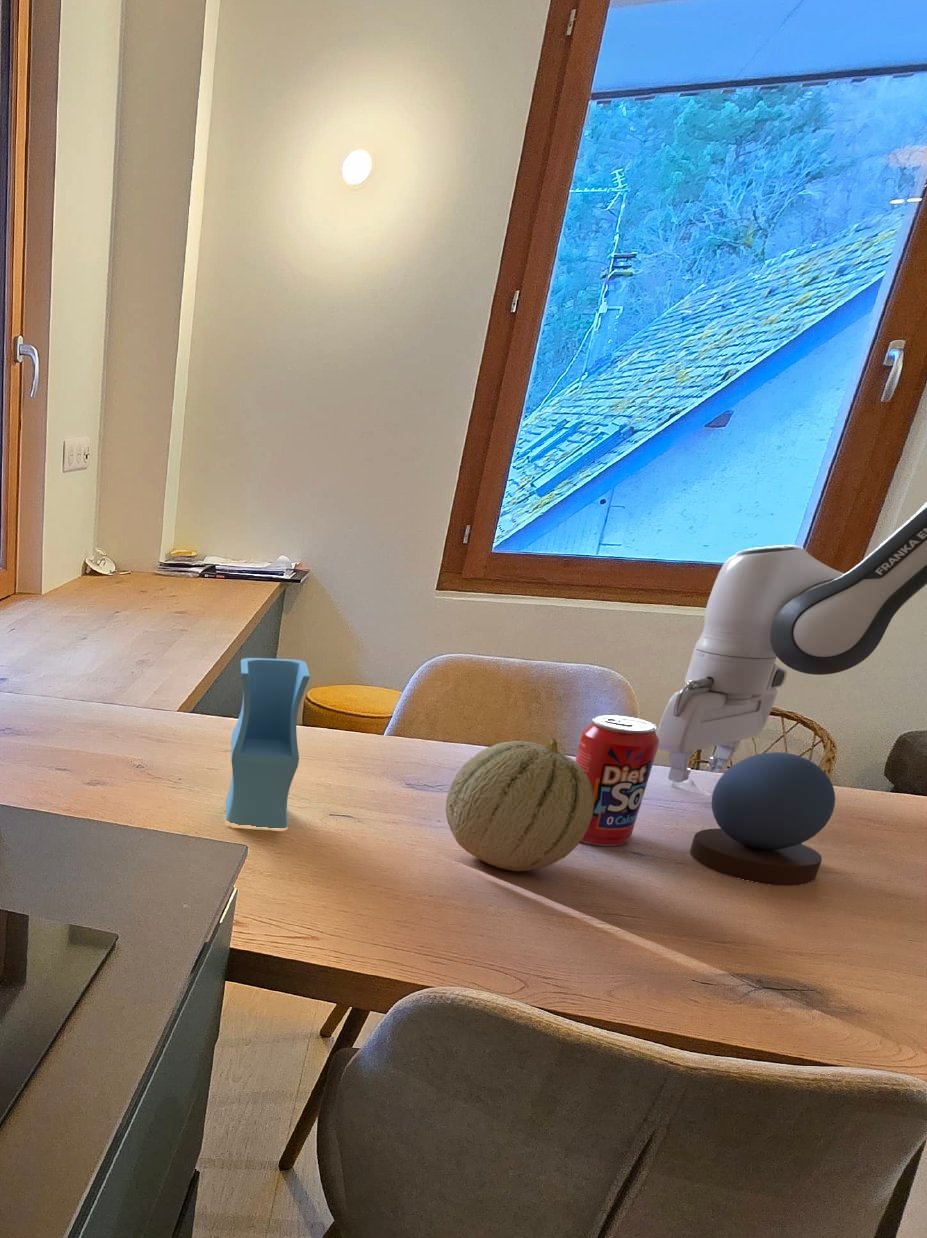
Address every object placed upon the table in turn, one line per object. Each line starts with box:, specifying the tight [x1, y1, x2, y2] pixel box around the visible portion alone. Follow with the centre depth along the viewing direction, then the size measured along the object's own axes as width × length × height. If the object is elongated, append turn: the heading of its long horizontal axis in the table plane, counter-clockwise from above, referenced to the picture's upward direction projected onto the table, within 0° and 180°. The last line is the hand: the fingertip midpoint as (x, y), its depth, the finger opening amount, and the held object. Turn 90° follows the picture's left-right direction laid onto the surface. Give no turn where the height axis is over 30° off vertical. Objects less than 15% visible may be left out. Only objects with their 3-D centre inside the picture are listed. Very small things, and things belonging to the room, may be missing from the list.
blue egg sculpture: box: [689, 751, 836, 887], centre depth 116 cm, size 12×12×14 cm
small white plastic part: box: [670, 779, 713, 797], centre depth 139 cm, size 4×6×3 cm, turn 0°
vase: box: [225, 657, 311, 828], centre depth 128 cm, size 8×8×20 cm
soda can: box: [574, 714, 659, 847], centre depth 123 cm, size 8×8×15 cm
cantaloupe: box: [445, 737, 594, 872], centre depth 115 cm, size 15×15×15 cm
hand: (696, 775), depth 138 cm, fingers open, 8 cm apart
